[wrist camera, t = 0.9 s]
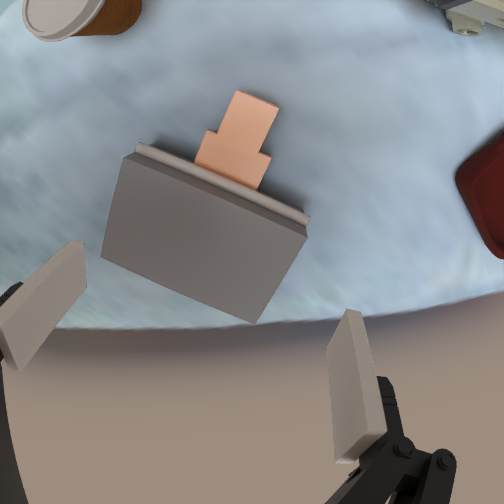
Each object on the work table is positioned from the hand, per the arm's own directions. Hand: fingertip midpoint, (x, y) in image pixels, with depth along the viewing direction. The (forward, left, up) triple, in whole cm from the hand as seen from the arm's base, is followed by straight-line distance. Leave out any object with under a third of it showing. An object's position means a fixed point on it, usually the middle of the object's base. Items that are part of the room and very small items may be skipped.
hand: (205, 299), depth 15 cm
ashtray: (+29, +15, -23) cm, 40 cm away
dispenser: (-2, -7, -23) cm, 24 cm away
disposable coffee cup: (-22, +13, -23) cm, 34 cm away
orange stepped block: (-2, -1, -20) cm, 20 cm away
